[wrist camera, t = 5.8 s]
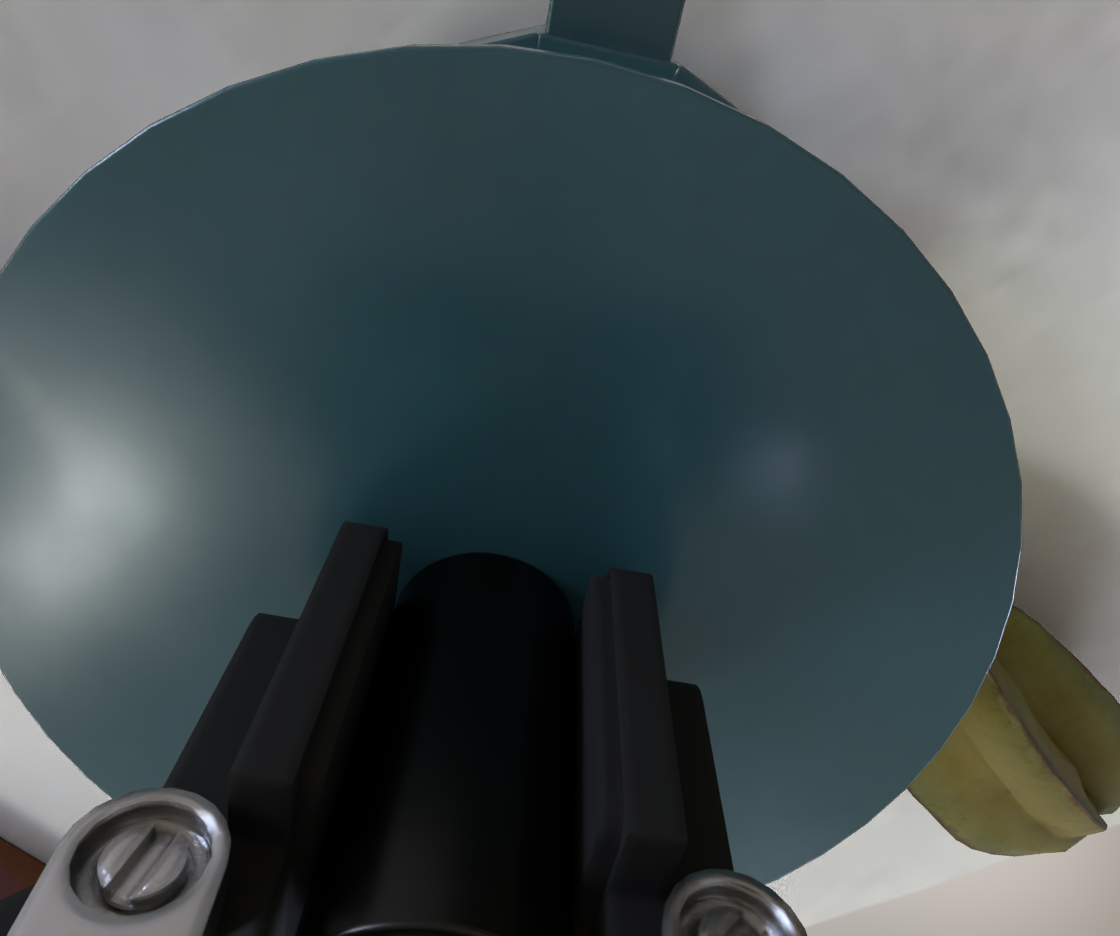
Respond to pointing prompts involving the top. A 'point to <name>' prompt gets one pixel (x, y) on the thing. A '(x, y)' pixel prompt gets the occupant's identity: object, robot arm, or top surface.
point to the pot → (613, 36)
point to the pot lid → (498, 456)
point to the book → (17, 870)
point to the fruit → (1028, 752)
